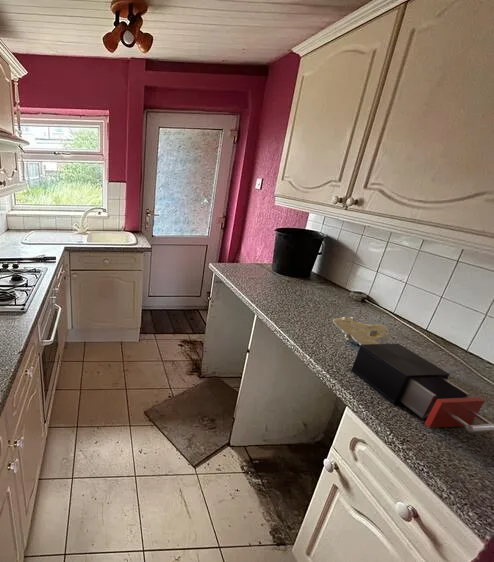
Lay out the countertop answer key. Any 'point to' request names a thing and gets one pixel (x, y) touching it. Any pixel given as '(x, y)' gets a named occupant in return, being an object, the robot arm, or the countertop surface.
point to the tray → (443, 404)
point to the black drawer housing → (392, 368)
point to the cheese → (362, 331)
